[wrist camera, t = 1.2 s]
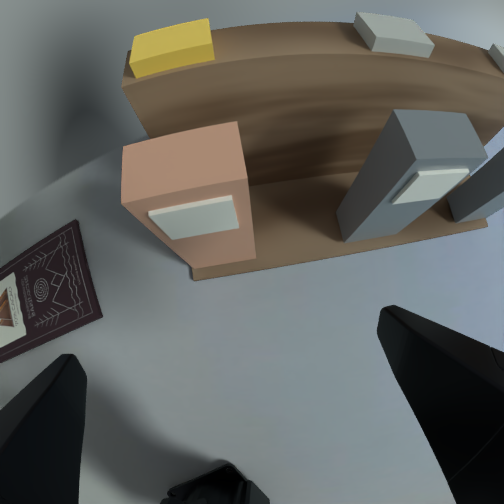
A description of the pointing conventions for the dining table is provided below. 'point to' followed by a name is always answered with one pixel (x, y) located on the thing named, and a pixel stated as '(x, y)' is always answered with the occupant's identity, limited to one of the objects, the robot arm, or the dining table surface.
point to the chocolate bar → (46, 293)
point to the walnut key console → (311, 115)
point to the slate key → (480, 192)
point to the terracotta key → (192, 193)
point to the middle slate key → (408, 171)
